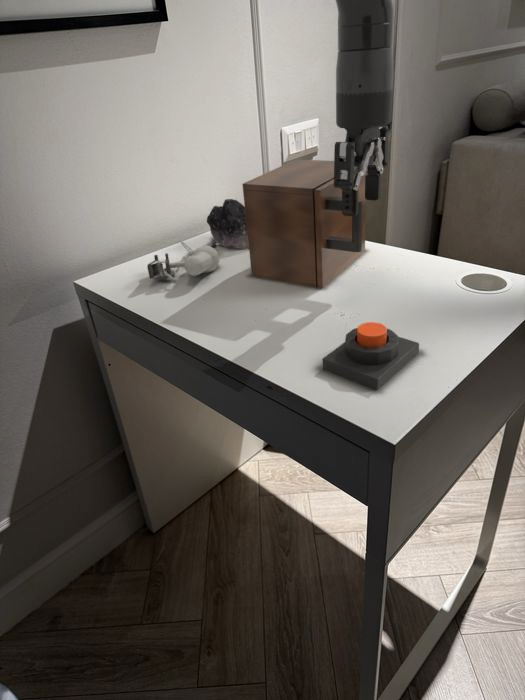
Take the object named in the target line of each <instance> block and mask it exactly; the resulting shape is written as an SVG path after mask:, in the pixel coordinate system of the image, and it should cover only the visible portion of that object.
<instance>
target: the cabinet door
mask: <svg viewBox="0 0 525 700" xmlns="http://www.w3.org/2000/svg"><path fill="white" fill-rule="evenodd" d="M366 175H367V174H366V173H365V175H363V176H362V177H361V180H360V183H359V187H358V214H357V215H356V216H354V217H353V216H344V215H343V214H342V189H340V188H335V187H334V179H333V180H331V181H329V182H327V183H326V184H324V185H322V186H320V187H319V188H317V189H315V190H314V193H315V223H316V254H317V284H318V286H317V288H318V289H324V288H325V287H326V286H327V285H329V283H331V282H332V281H333V280H334V279H336V278H337V277H338V276H339V275H340V274H341V273H342V272H343V271H344V270H345V269H346V268H348V267H349V266H350V265H351V264H353V262H355V261H356V260H357V259H358V258H359V257H360V256H362V254H364V253H365V252H366V222H367V221H366V219H367V218H366V217H367V216H366V214H367V213H366V212H367V200H366V199H365V176H366ZM341 176H342V174H341ZM354 177H355V175H354Z"/></svg>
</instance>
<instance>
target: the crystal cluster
mask: <svg viewBox="0 0 525 700" xmlns="http://www.w3.org/2000/svg"><path fill="white" fill-rule="evenodd" d="M206 223H207V224H208V226H209V229H210V234H211V235H212V238H213V240H214V242H215V244H217V243H220V245H219V246H222V247H224V248H228V249H229V248H236V249H249V243H248V233H247V224H246V214H245V205H244V204H243V203H241V202H240V201H239V200H236V199H233V198H227V199H226V198H225V199H224V201H223V203H222V205H220V206H219V205H214V206H213V207H212V208H211V210H210V213H209V214H208V215H207V216H206Z"/></svg>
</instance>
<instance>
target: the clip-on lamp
mask: <svg viewBox="0 0 525 700" xmlns="http://www.w3.org/2000/svg"><path fill="white" fill-rule="evenodd" d="M178 241H179V242H180V243H181V245H182V247H184V248H185V250H186V251H187V252H188V253H189V254H191V256H189V257H186V256H185V255H183V256H182V257H181V260H180V261H178V262H170V258H169V254H168V253H164V255H165V256H164V257H165V259H163V260H159V256H158V254H154V256H153V257H154V260H152V261H151V262H149V263H148V264H147V265H146V266H147V272H148V276H149V279H150V280H153V279H155V278H158V277H168V278H169V279H171V280H172V281H177V280H178V275H177V273H178V272H179V271H180V268H184V271H186V273H187V274H188V275H190V276H193V277H195V276H198V275H201V274H204V273H211V272H214V271H215V270H216V269H217V268H218V266H219V264H220V256H219V253H218V251H217V250H216V249H215V248H217V246H221V245H220V243H213V244H212V245H210V246H209V245H201V246H198V247H196V248H195V249H194V250H193V249H192V248H191V247H190V246H188V244H186V243H185V242H184V241H183V240H181V238H179V239H178ZM164 264H165V267H164ZM172 269H175V270H173V271H172ZM171 274H172V275H171ZM173 275H174V277H173Z"/></svg>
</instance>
